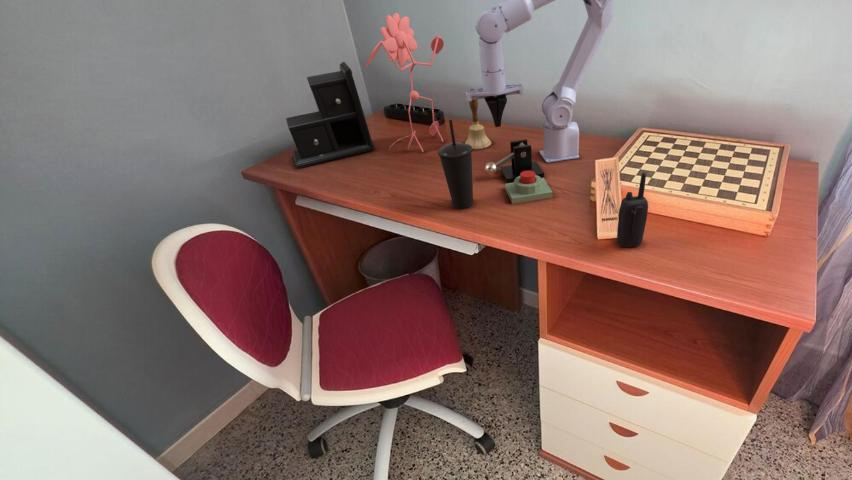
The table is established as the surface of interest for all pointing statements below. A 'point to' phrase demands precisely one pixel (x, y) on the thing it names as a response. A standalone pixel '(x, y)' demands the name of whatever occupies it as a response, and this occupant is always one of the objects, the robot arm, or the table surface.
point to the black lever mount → (520, 162)
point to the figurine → (405, 57)
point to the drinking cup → (458, 171)
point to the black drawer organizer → (331, 121)
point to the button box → (528, 190)
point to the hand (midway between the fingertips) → (497, 125)
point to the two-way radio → (632, 217)
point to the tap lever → (498, 164)
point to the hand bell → (476, 130)
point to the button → (527, 177)
